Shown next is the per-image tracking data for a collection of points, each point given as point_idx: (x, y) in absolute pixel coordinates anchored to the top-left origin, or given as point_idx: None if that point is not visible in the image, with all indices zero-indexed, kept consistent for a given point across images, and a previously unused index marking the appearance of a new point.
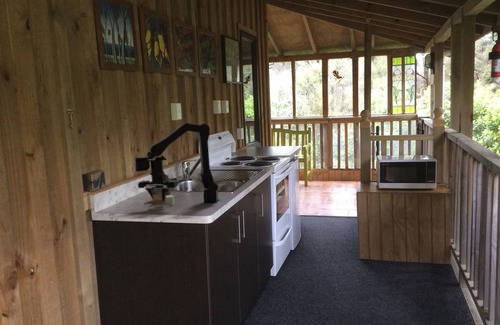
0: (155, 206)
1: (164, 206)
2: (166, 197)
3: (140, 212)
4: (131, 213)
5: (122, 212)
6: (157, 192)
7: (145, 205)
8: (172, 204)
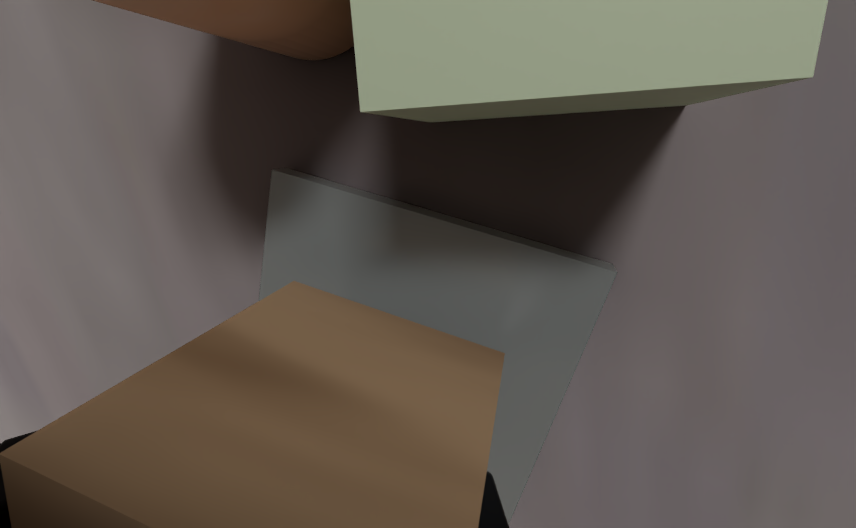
0: None
1: None
2: (506, 96)
3: None
4: None
5: (12, 425)
6: None
7: (94, 63)
8: (666, 104)
